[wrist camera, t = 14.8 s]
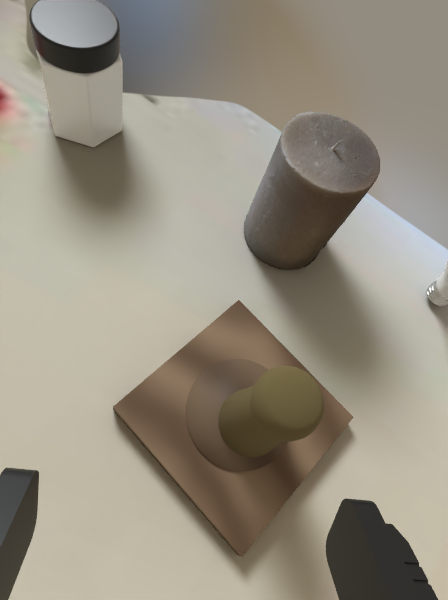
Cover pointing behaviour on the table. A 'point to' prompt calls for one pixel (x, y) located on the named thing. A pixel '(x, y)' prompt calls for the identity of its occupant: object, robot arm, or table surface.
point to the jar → (79, 68)
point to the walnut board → (205, 431)
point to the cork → (271, 411)
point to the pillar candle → (309, 188)
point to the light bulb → (439, 289)
